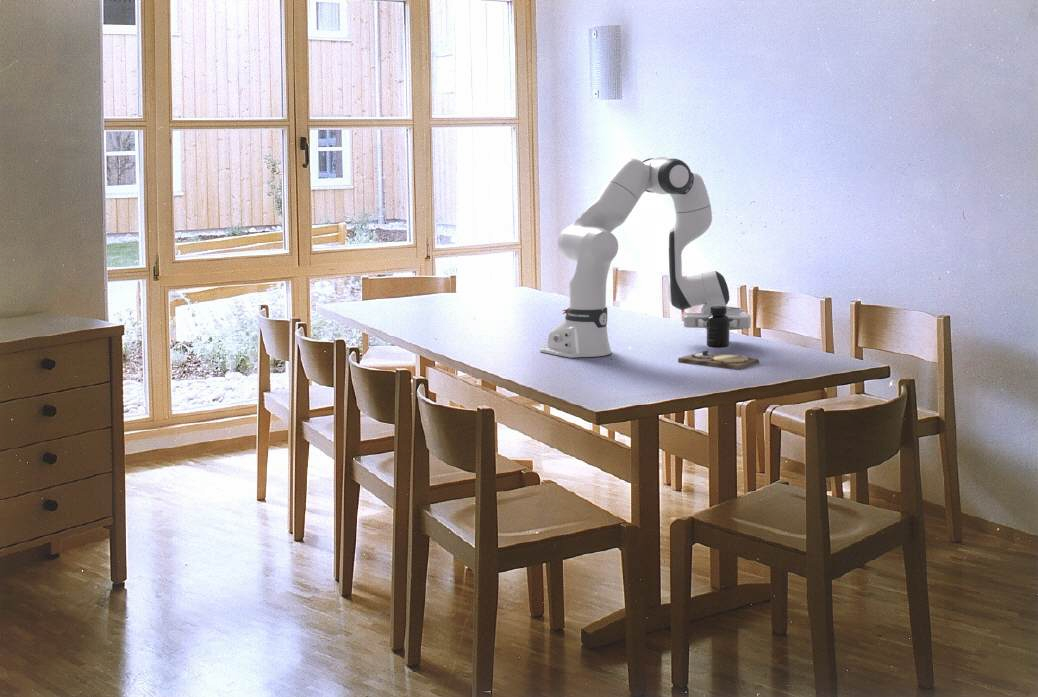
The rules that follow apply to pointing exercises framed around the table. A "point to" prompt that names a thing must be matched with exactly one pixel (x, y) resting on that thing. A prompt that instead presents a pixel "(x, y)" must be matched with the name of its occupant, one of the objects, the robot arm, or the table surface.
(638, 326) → the table surface
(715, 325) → the supplement bottle
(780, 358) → the table surface
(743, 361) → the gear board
